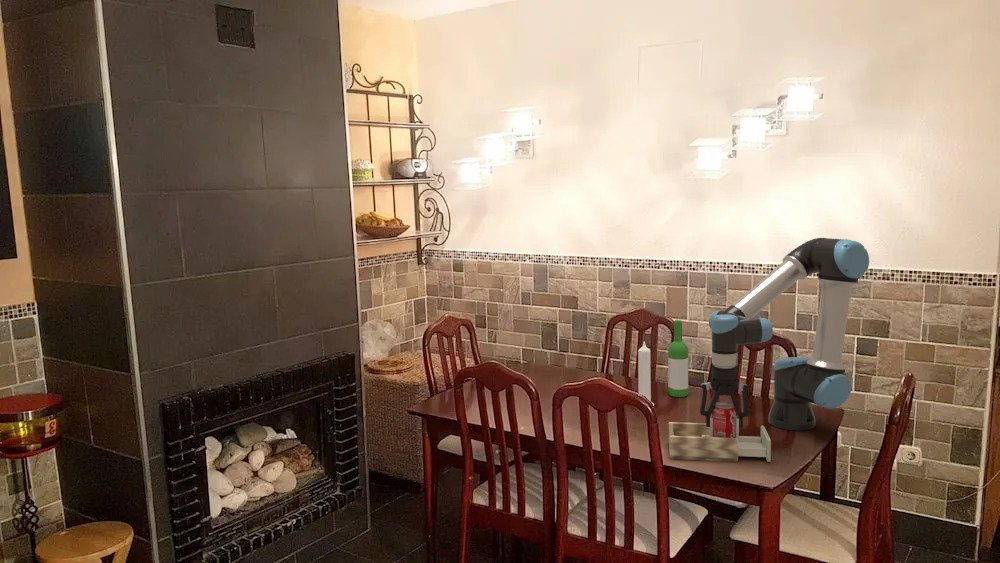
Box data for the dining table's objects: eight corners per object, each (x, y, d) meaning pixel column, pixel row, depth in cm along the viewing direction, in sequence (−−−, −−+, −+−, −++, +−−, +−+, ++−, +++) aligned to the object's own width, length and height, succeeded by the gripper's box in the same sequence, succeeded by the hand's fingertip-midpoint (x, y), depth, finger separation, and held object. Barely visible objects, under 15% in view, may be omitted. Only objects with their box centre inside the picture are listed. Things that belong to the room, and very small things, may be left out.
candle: (631, 404, 273) (630, 340, 269) (646, 401, 275) (646, 338, 272) (642, 409, 266) (641, 344, 263) (657, 406, 269) (657, 342, 266)
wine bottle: (679, 391, 288) (679, 318, 284) (692, 396, 281) (692, 321, 277) (664, 394, 285) (663, 320, 281) (676, 399, 278) (676, 323, 274)
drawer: (763, 445, 225) (764, 425, 224) (770, 461, 213) (770, 440, 212) (701, 443, 229) (701, 423, 228) (704, 458, 217) (704, 437, 216)
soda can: (733, 438, 224) (733, 401, 223) (738, 446, 217) (738, 408, 216) (710, 437, 225) (710, 401, 223) (714, 446, 218) (714, 408, 216)
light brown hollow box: (732, 445, 228) (733, 424, 227) (738, 461, 214) (738, 439, 213) (668, 442, 232) (668, 422, 231) (669, 458, 218) (669, 436, 217)
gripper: (756, 362, 219) (755, 434, 223) (690, 361, 224) (690, 431, 227) (760, 369, 212) (759, 442, 215) (691, 367, 216) (691, 440, 219)
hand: (723, 437), depth 221 cm, fingers closed on soda can, 7 cm apart
